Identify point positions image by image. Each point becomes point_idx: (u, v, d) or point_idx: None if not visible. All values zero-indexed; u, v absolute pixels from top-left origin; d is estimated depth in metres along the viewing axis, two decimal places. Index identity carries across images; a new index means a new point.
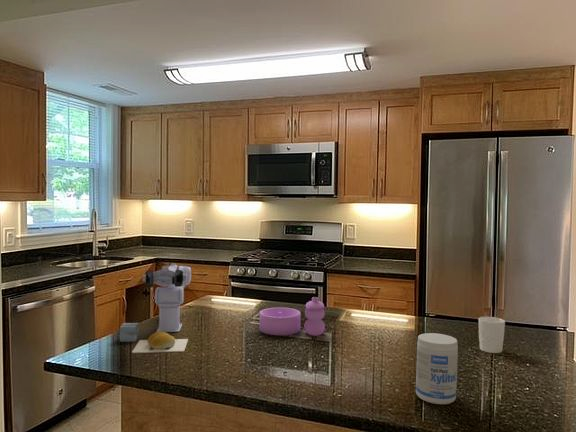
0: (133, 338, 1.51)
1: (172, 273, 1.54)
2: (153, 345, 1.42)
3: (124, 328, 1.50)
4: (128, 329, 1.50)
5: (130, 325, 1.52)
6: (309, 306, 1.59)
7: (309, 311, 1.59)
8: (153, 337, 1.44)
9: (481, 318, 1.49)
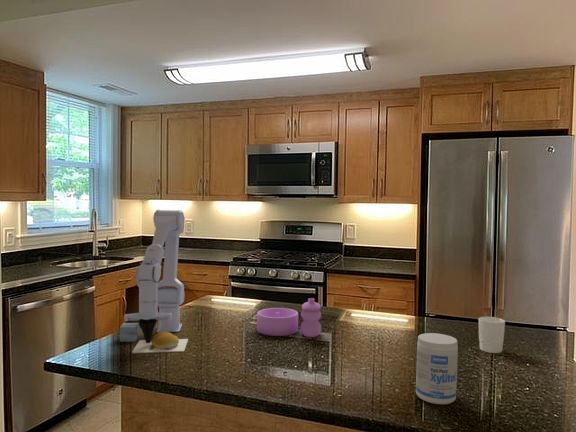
0: (133, 338, 1.51)
1: (155, 317, 1.44)
2: (157, 345, 1.42)
3: (124, 328, 1.50)
4: (128, 329, 1.50)
5: (130, 325, 1.52)
6: (305, 307, 1.57)
7: (305, 312, 1.58)
8: (157, 337, 1.44)
9: (481, 318, 1.49)
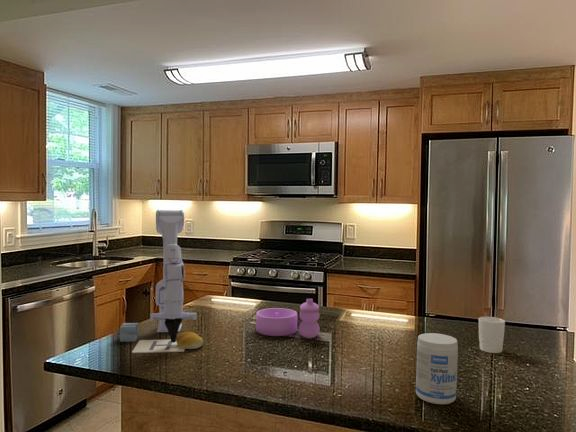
0: (133, 338, 1.51)
1: None
2: (181, 345, 1.42)
3: (124, 328, 1.50)
4: (128, 329, 1.50)
5: (130, 325, 1.52)
6: (302, 308, 1.57)
7: (303, 313, 1.57)
8: (182, 336, 1.45)
9: (481, 318, 1.49)
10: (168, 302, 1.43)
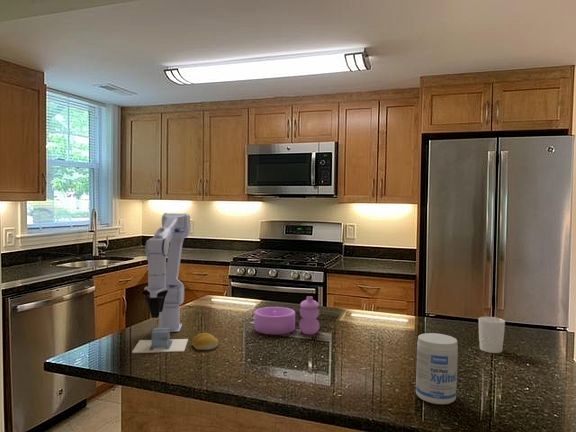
0: (165, 344, 1.44)
1: None
2: (196, 346, 1.43)
3: (156, 333, 1.43)
4: (160, 334, 1.43)
5: (162, 330, 1.45)
6: (304, 305, 1.60)
7: (304, 310, 1.61)
8: (197, 338, 1.46)
9: (481, 318, 1.49)
10: None
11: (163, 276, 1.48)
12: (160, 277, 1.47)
